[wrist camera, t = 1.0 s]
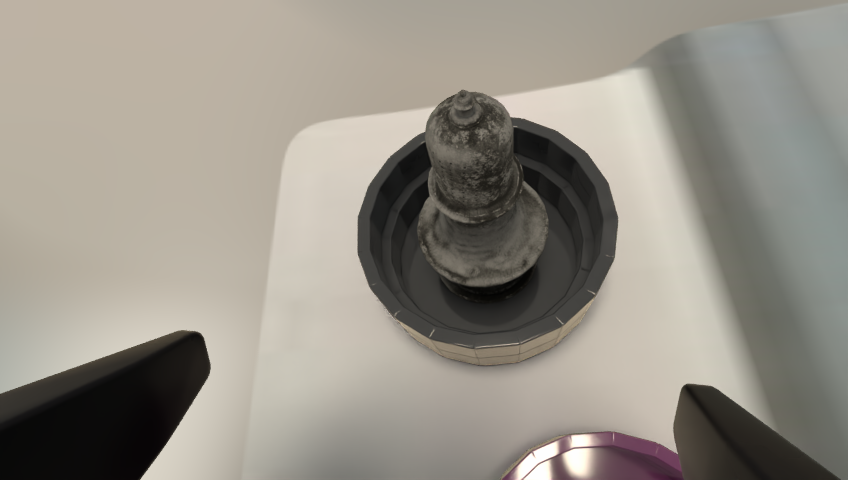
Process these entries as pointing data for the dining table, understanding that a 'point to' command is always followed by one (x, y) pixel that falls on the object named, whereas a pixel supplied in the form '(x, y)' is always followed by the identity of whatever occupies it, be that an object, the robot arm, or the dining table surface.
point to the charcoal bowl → (556, 267)
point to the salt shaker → (479, 202)
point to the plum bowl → (596, 459)
